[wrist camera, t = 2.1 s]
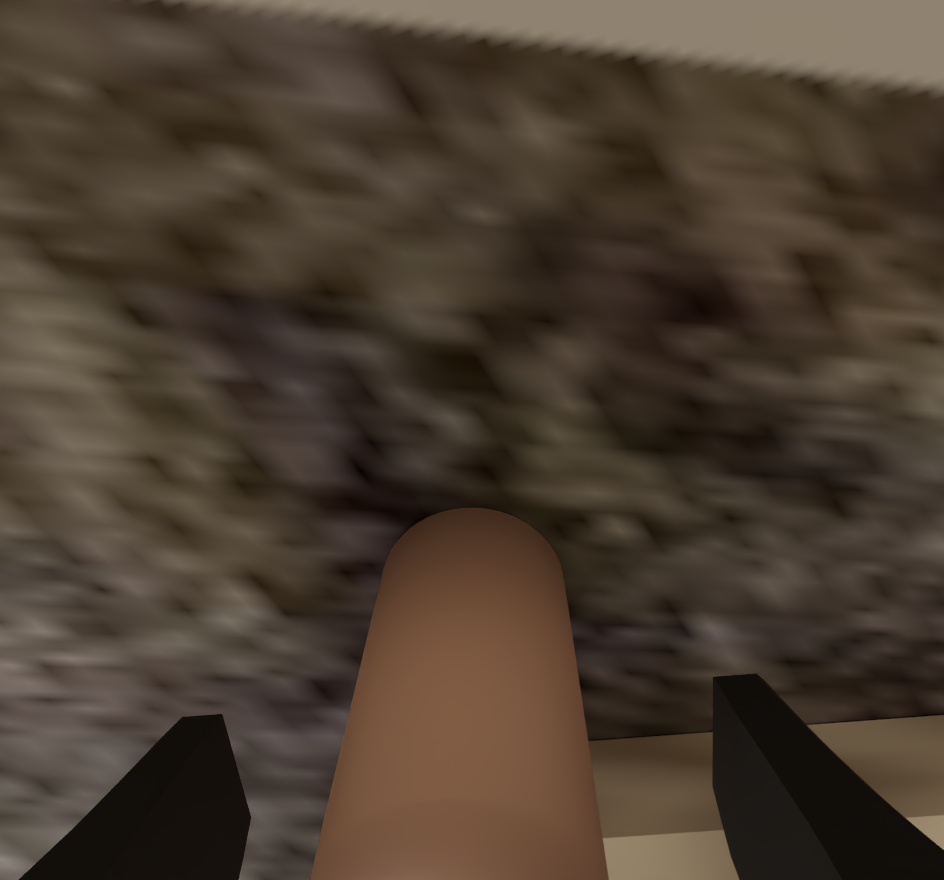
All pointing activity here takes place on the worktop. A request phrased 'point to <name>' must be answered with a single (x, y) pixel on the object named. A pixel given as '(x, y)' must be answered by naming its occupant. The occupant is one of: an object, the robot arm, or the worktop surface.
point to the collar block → (694, 804)
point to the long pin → (466, 718)
